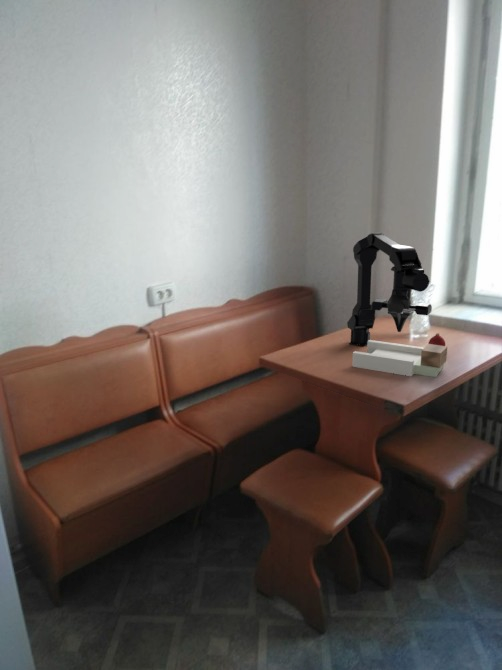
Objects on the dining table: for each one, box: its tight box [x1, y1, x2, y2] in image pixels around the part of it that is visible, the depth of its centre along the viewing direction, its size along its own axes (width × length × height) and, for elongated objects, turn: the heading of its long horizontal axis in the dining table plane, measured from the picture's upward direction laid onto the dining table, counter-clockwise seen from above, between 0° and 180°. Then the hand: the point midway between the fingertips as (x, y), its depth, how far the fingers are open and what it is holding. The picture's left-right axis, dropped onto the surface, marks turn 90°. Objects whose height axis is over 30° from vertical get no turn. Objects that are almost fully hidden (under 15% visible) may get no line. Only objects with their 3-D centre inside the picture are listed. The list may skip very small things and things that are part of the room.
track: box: [351, 339, 426, 377], centre depth 172 cm, size 20×17×5 cm
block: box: [421, 344, 448, 368], centre depth 163 cm, size 6×8×5 cm
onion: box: [427, 332, 446, 346], centre depth 180 cm, size 6×6×8 cm
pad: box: [413, 358, 444, 378], centre depth 166 cm, size 7×11×3 cm, turn 148°
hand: (399, 331), depth 168 cm, fingers closed
